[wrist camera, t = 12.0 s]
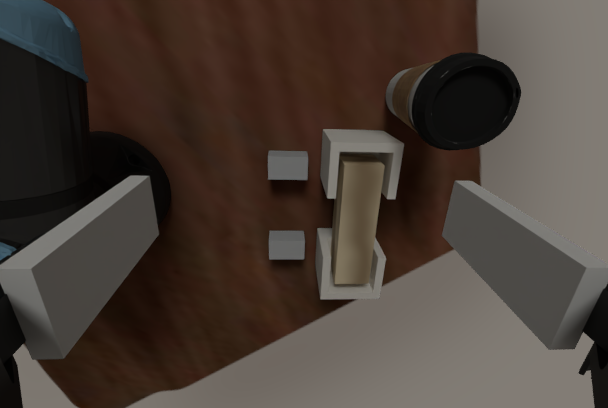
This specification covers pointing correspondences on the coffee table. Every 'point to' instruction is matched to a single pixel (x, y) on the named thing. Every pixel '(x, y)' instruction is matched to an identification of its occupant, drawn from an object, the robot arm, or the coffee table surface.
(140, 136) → the coffee table surface
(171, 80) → the coffee table surface
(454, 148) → the coffee cup
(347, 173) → the rail
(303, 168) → the rest blocks
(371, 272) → the bracket pair
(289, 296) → the coffee table surface
